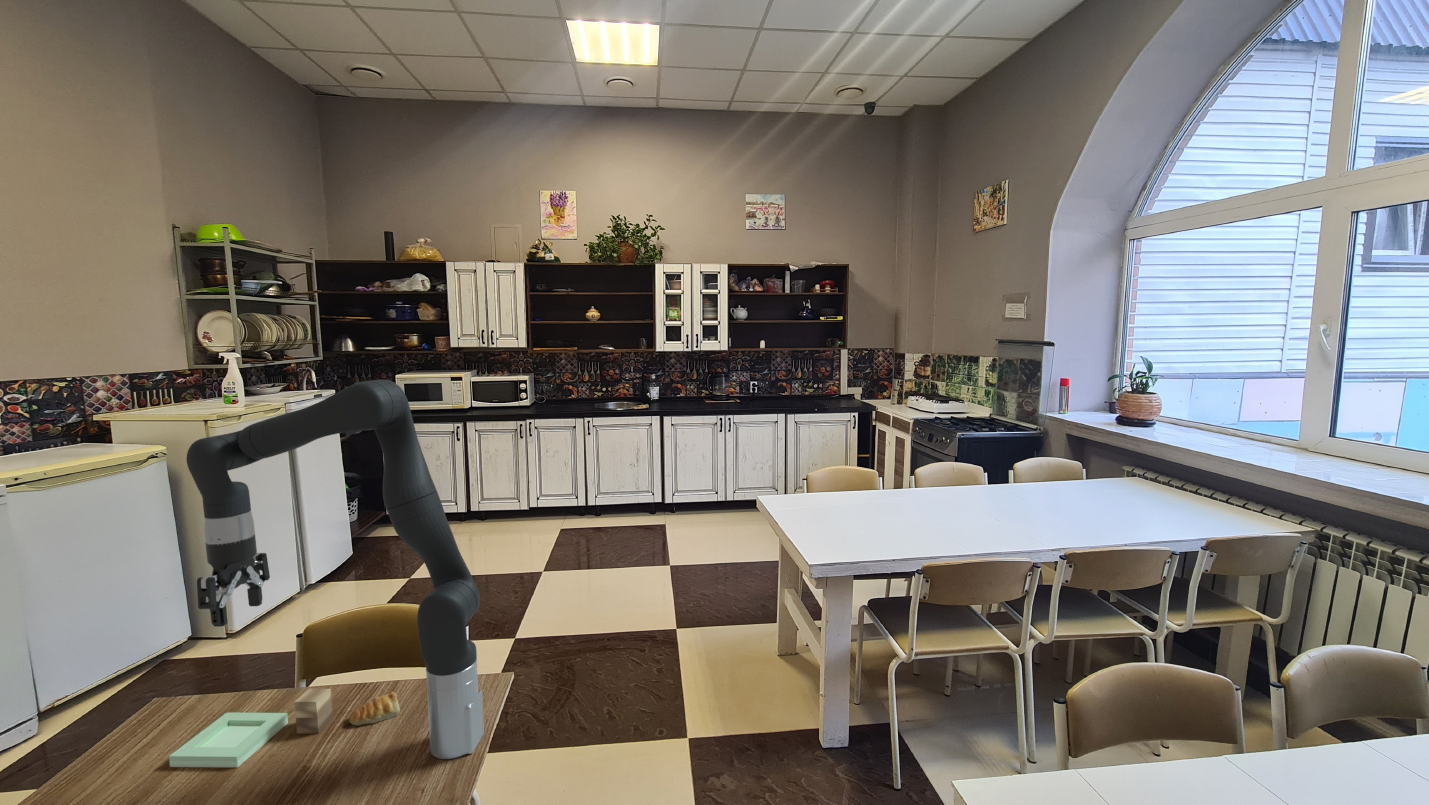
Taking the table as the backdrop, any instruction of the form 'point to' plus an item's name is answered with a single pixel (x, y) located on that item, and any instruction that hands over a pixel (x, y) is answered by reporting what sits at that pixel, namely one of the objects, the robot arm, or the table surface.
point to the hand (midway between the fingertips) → (238, 615)
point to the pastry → (376, 710)
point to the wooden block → (313, 711)
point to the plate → (229, 740)
